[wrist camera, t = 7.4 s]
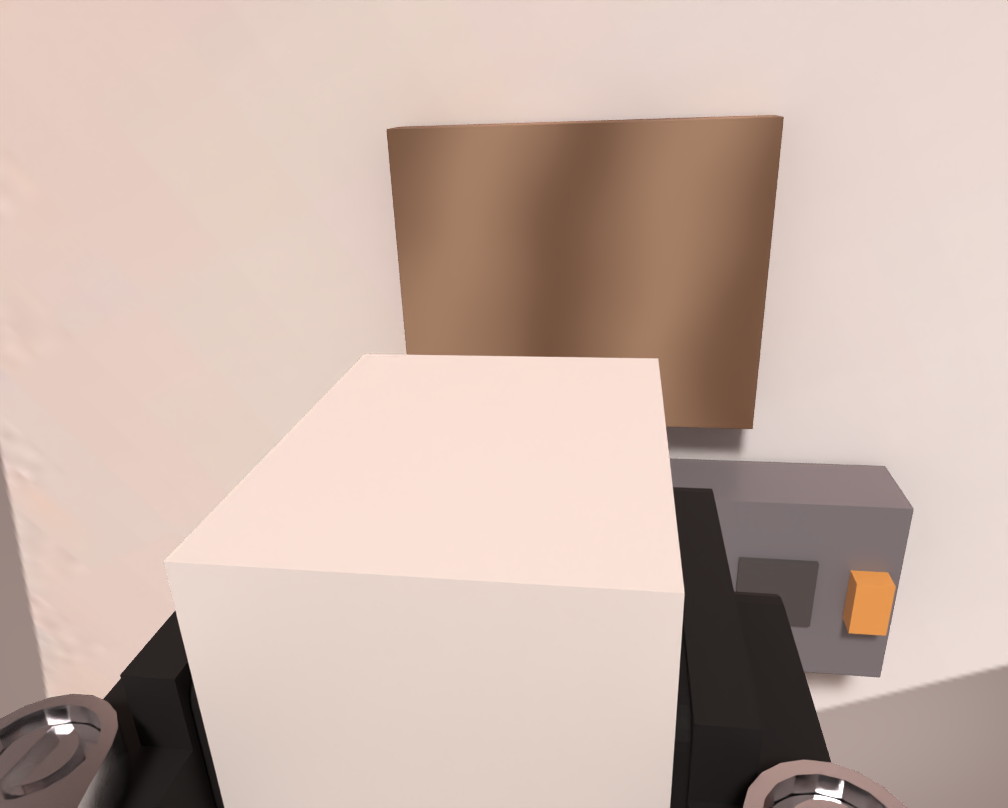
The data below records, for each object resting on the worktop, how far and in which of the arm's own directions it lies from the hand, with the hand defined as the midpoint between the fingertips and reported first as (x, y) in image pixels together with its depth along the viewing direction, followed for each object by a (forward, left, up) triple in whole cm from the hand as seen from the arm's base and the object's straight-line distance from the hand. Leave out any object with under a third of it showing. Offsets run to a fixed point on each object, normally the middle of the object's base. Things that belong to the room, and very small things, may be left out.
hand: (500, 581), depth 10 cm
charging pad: (0, 0, -18) cm, 18 cm away
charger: (0, 0, -3) cm, 3 cm away
